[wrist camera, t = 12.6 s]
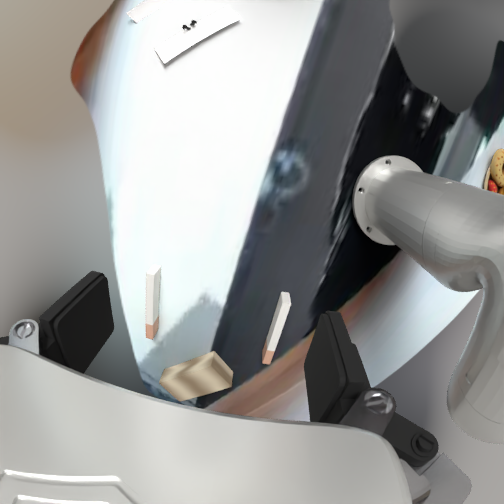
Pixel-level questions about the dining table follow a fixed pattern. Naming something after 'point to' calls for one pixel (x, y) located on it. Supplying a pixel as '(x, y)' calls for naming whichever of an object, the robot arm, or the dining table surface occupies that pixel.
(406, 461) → the robot arm
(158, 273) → the walled lane
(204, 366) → the birch block
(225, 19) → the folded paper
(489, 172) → the toy food set
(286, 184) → the dining table surface
